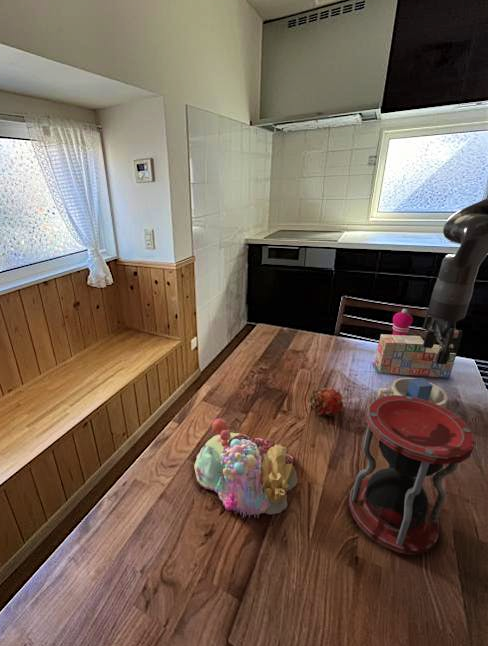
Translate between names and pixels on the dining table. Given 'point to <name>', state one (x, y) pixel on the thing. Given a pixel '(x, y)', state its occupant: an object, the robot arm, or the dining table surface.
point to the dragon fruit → (326, 402)
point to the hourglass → (407, 471)
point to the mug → (402, 385)
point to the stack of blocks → (410, 357)
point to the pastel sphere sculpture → (245, 471)
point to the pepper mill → (401, 322)
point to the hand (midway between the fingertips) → (433, 355)
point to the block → (419, 388)
